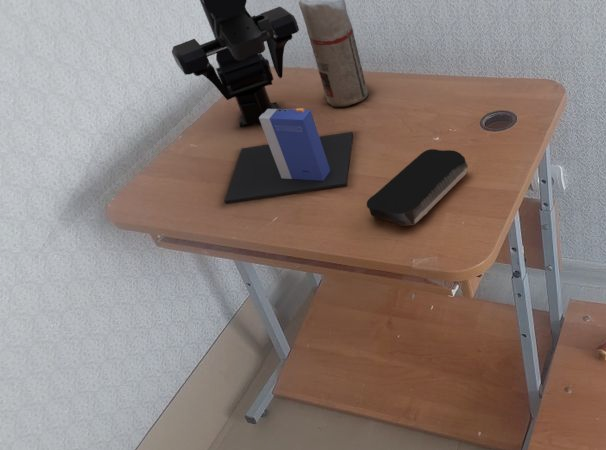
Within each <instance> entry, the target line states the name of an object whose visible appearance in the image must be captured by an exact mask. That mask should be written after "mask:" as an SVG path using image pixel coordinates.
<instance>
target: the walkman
mask: <svg viewBox="0 0 606 450" xmlns="http://www.w3.org/2000/svg"><path fill="white" fill-rule="evenodd" d="M259 120H260V122H261V124H260V125H261V127H262V131H263V133H264V135H265V138H266V142H267V145H268V144H269V147H270V149H271V152H272V155H273V157H274V160H275V162H276V165H277V168H278V170H279V173H280V175H281V178H285V179H302V180H318V181H324V179H325V178H326V176H327V175H328V174H329V172H330V168H329V165H328V162H327V159H326V156H325V153H324V150H323V147H322V143H321V140H320V137H321V136H320V134H319V131H318V129H317V126H316V123H315V119H314V117H313V114H312V110H311V109H305V108H302V107H297V108H296V109H290V108H286V109H285V108H277V109H267V110H266V111H265V112H264V113H262V115H261V116H260V117H259Z"/></svg>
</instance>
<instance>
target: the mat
mask: <svg viewBox="0 0 606 450" xmlns="http://www.w3.org/2000/svg"><path fill="white" fill-rule="evenodd" d="M319 137H320V140H321V143H322V147H323V150H324V153H325V156H326V159H327V162H328V165H329V168H330V172H329V174H328V175H327V176H326V178H325V179H324V181H318V180H302V179H285V178H281V175H280V173H279V170H278V168H277V165H276V162H275V160H274V157H273V155H272V152H271V149H270V147H269V144H268V143H267V144H263V145H262V144H261V145H256V146H248V147H242V148H241V150H240V153H239V155H238V158H237V161H236V165H235V167H234V170H233V173H232V176H231V179H230V182H229V185H228V188H227V191H226V194H225V197H224V200H223V203H224V204H225V205H226V204H234V203H239V202H246V201H253V200H261V199H268V198H275V197H281V196H288V195H295V194H302V193H309V192H314V191H315V192H316V191H323V190H330V189H336V188H343V187H347V185H348V179H349V178H348V177H349V169H350V162H351V154H352V146H353V137H354V133H353V131H348V132H342V133H336V134H328V135H322V136H319Z"/></svg>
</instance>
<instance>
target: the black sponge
mask: <svg viewBox="0 0 606 450" xmlns="http://www.w3.org/2000/svg"><path fill="white" fill-rule="evenodd" d="M467 173H468V163H467V161H466V158H465V156H464V155H463V154H462V153H460V152H458V151H456V150H451V149H445V150H441V149H435V148H431V149H426V150H424V151H423V152H421V153H420V154H419V155H418V156H417V157H415V159H413V160H412V161H411V162H409V164H407V165H406V166H405V167H404V168H403V169H402V170H400V172H399V173H397V174H396V175H394V177H393V178H392V179H391V180H389V181H388V182H387V183H386V184H385V185H384V186H383V187H382V188H381V189H379V190H378V191H377V192H376V193H374V194H373V195H371V196H370V198H368V199H367V201H366V207H367V209H369V213H370V215H371V216H372V217H374V218H375V219H380V220H385V221H390V222H393V223H395V224H398V225H399V226H414V225H416V224H417V223H418V222H419V221H420V220H421V219H422V218H423V217H424V216H426V215H427V214H428V213H429V211H430V210H431V209H432V208H433V207H434V206H435V205H436V204H437V203H438V202H439V201H441V199H443V198H444V196H446V194H448V193H449V192H450V191H451V190H452V189H453V188H454V186H456V185H457V183H458V182H459V181H460V180H462V179H463V177H465V175H466V174H467Z"/></svg>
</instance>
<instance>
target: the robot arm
mask: <svg viewBox="0 0 606 450" xmlns="http://www.w3.org/2000/svg"><path fill="white" fill-rule="evenodd" d="M199 2H200V5H201V7H202V9H203V12H204V15H205V17H206V19H207V22H208V24H209V27H210V29H211V31H212V34H213V37H214V39H212V40H209V41H208V42H205V43H201V44H200V43H199V42H198V41H197V40H196V38H192V39H189V40H187V41H185V42H182V43H179V44H176V45H174V46H173V47H172V50H171V54H172V57H173V58H174V62H175V63H176V65H177V66H178V67H179V69H180V70H181V71H182V73H183V74H184V75H194V76H195V77H200V76H203V77H205V78H206V79H208V81H209V82H211V84H213V85H214V87H215V88H216V89H217V90H218V91H219V93H221V95H222V96H223V97H224V98H225V100H227V101H229V100H232V99H233V98H235V100H236V103H237V105H238V108H239V110H240V113H241V117H240V119H239V122H238V126H239V127H241V128H242V127H247V126H254V125H261V122H260V120H259V117H260V116H261V115H262V113H264V112H265V111H266V110H267V109H278V106H279V104H278V102H277V101H274V102H271V100H270V97H269V94H268V92H267V90H266V87H267V86H271V85H273V80H274V76H273V73H272V69H271V66H270V61H269V60H268V59H267V58H265V57H264V56H263V54H262V53H264V52H265V50H266V45H265V42H266V44H267V48H268V50H269V55H270V58H271V61H272V65H273V68H274V70H275V73H276V75H277V76H278V78H279V79H283V71H284V69H283V67H284V53H285V52H284V51H285V47H286V45H287V43H288V42H289V41H291V40H292V39H293V35H294V34H297V33H299V31H300V28H299V24H298V21H297V19H296V18H295V16H294V15H293V14H292V13H290V11H288V10H287V9H286V8H283V7H282V6H278V7H275V8H272V9H270V10H267V11H264V12H261V13H260V14H257V15H251V14H250V12H249V11H247V8H246V4H247V0H199ZM215 54H216V56H215V60H216V63H217V65H218V67H217V68H215V67H214V66H213V65H212V63H210V60H209V58H208V57H210V56H213V55H215Z"/></svg>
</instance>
